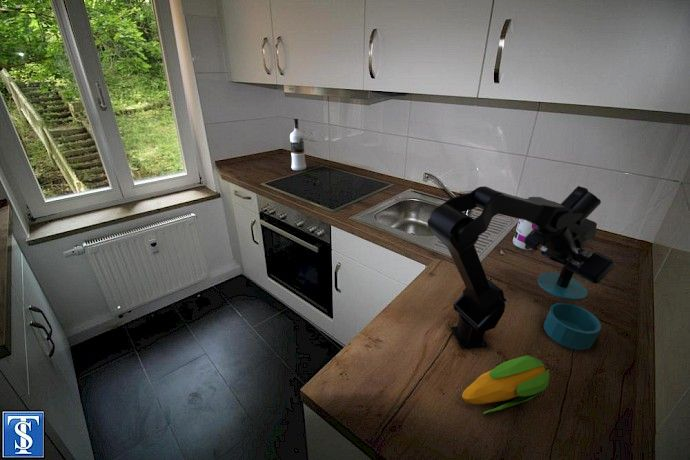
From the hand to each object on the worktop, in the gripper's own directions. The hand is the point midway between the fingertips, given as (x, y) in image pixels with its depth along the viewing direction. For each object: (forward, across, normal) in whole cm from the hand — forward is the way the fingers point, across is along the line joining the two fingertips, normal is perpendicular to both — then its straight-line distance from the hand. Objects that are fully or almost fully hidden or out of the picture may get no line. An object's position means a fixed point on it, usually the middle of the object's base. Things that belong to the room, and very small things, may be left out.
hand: (572, 266), depth 81 cm
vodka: (-14, +149, +32) cm, 153 cm away
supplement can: (+22, +27, -4) cm, 35 cm away
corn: (-16, -14, +34) cm, 40 cm away
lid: (+3, 0, +5) cm, 6 cm away
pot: (+4, -8, +14) cm, 17 cm away
